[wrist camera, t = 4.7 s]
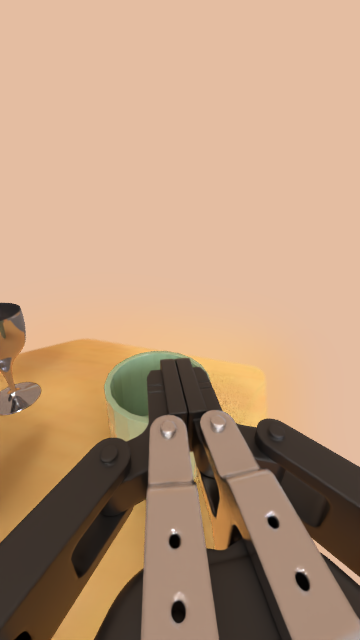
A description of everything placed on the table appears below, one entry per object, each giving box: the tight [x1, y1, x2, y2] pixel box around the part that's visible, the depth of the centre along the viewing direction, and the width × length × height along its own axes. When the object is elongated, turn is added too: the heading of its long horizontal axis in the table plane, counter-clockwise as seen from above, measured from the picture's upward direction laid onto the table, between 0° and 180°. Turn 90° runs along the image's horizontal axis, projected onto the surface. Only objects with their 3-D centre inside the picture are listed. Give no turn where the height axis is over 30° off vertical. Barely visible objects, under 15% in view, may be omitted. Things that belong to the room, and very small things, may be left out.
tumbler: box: [104, 351, 210, 480], centre depth 28 cm, size 11×11×12 cm
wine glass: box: [0, 303, 41, 415], centre depth 34 cm, size 8×8×15 cm
